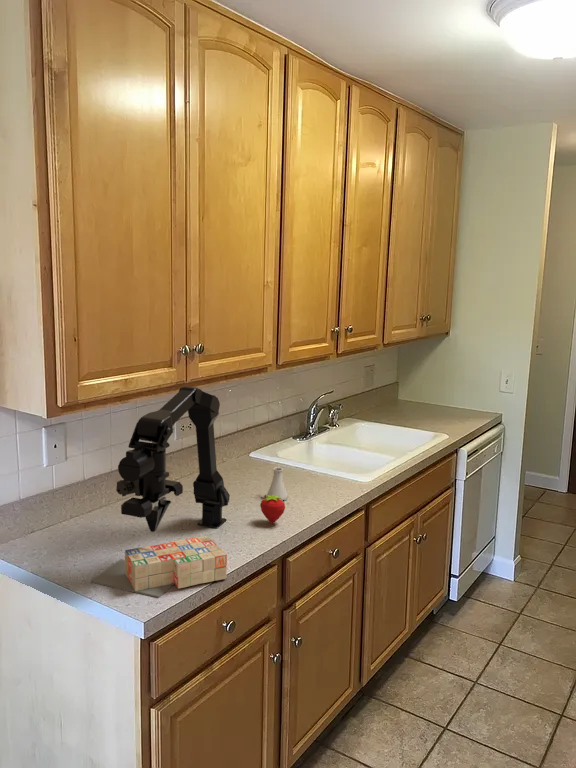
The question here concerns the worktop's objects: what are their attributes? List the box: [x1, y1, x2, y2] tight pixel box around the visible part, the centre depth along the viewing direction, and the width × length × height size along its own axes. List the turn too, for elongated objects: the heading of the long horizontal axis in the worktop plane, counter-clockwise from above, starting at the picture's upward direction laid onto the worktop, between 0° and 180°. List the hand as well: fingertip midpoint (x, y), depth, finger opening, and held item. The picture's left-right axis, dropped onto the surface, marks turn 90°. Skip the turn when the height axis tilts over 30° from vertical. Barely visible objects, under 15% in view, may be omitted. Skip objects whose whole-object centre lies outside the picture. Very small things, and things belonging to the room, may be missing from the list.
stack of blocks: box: [124, 535, 228, 591], centre depth 153 cm, size 21×6×12 cm
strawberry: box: [259, 492, 286, 524], centre depth 187 cm, size 6×8×10 cm
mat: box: [90, 558, 175, 599], centre depth 153 cm, size 12×18×1 cm, turn 70°
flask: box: [265, 466, 289, 502], centre depth 208 cm, size 7×7×10 cm
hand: (153, 531), depth 155 cm, fingers closed
